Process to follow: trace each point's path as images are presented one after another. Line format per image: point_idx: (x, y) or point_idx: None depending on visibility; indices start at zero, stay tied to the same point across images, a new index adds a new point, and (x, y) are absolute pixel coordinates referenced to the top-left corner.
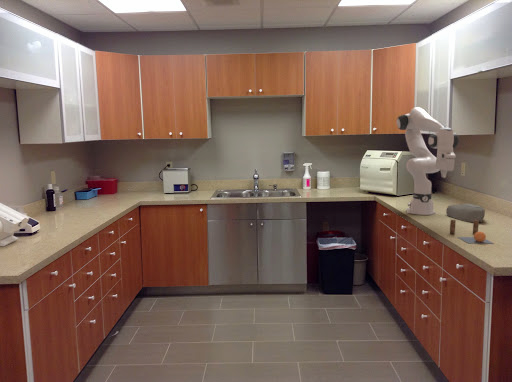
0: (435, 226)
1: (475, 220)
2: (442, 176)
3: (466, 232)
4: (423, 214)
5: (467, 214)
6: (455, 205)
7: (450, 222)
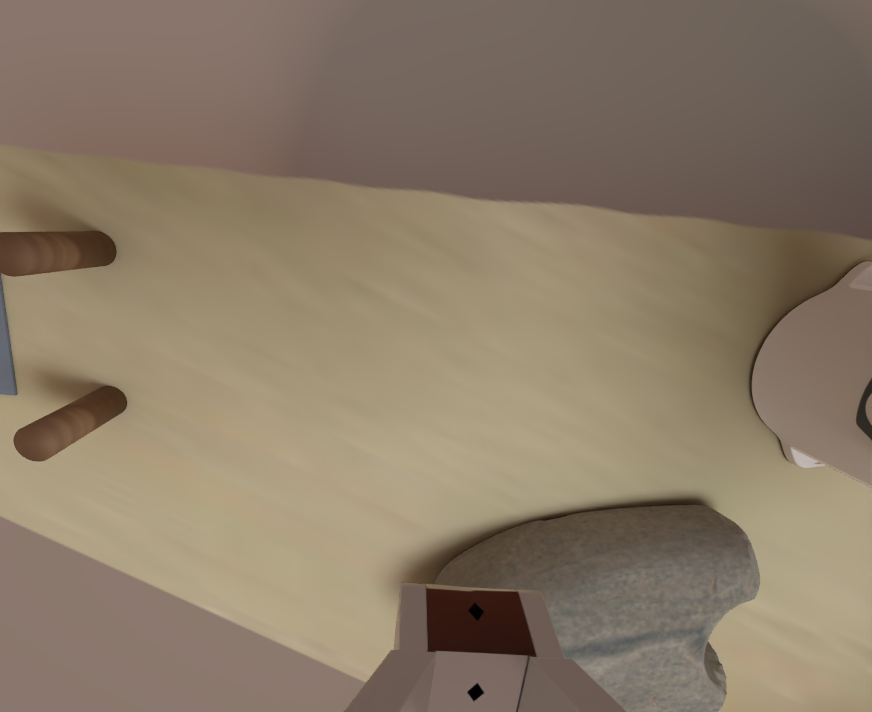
0: (357, 249)
1: (20, 433)
2: (449, 597)
3: (164, 373)
4: (762, 351)
5: (505, 568)
6: (711, 597)
7: (29, 233)
